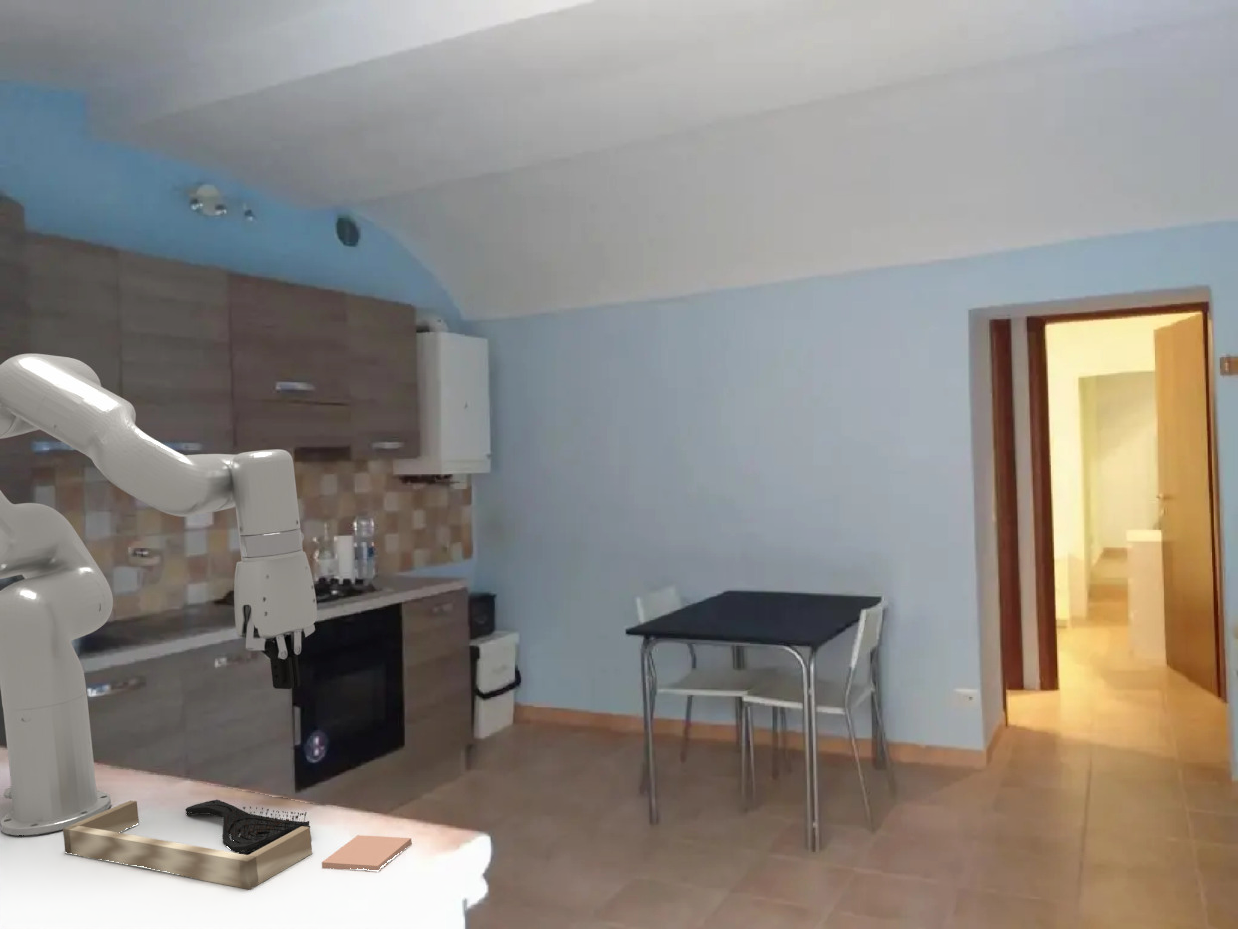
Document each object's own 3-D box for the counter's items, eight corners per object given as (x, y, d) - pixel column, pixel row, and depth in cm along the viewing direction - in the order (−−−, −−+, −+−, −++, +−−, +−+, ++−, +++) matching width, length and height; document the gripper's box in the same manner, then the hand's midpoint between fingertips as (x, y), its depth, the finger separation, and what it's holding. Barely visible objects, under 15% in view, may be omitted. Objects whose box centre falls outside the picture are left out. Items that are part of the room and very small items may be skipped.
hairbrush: (219, 780, 132) (324, 806, 116) (222, 807, 132) (328, 837, 116) (157, 801, 126) (259, 832, 110) (160, 830, 126) (263, 865, 110)
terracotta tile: (322, 873, 108) (321, 862, 108) (358, 845, 114) (357, 835, 114) (378, 877, 105) (377, 866, 105) (412, 848, 112) (411, 838, 112)
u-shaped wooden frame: (65, 853, 117) (62, 828, 117) (132, 823, 125) (130, 800, 125) (249, 889, 104) (247, 861, 103) (312, 853, 112) (309, 827, 111)
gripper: (293, 538, 135) (307, 671, 136) (203, 556, 122) (219, 703, 123) (334, 536, 132) (349, 672, 133) (246, 554, 119) (263, 705, 119)
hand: (286, 686), depth 128 cm, fingers closed
